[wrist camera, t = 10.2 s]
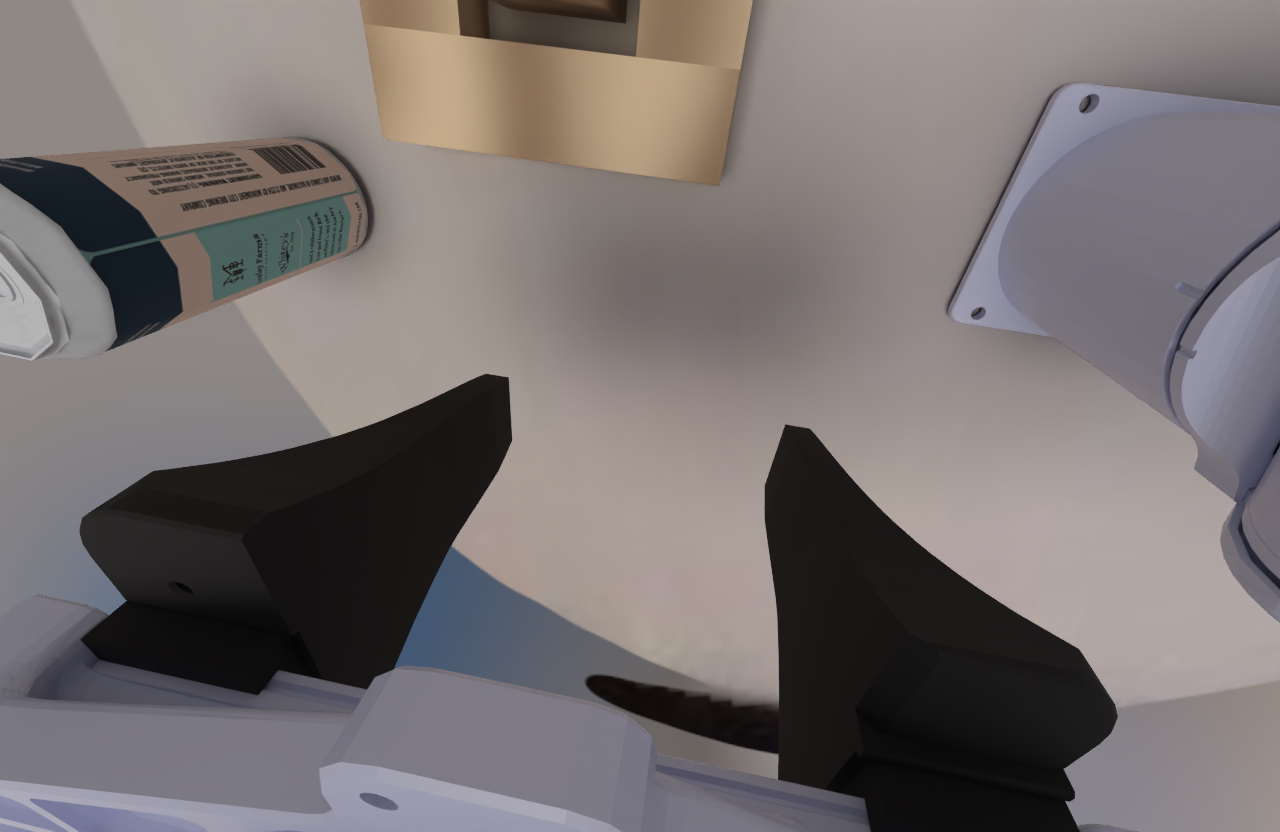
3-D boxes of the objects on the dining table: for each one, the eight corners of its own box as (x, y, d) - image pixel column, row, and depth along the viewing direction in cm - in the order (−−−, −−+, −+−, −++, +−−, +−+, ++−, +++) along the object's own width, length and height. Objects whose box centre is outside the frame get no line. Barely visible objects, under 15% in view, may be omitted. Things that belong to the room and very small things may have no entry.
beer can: (247, 147, 20) (-211, 189, 10) (341, 125, 19) (-67, 148, 9) (306, 261, 23) (-17, 382, 13) (393, 247, 22) (114, 367, 12)
